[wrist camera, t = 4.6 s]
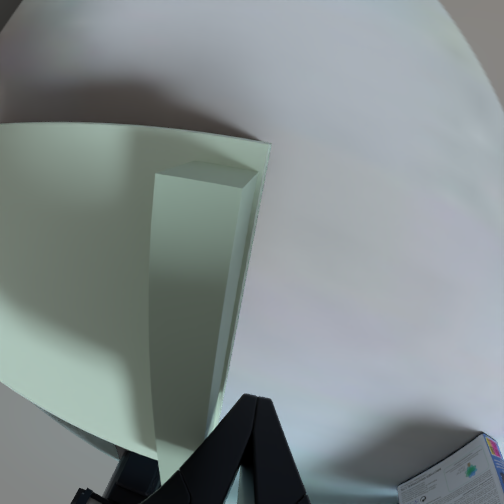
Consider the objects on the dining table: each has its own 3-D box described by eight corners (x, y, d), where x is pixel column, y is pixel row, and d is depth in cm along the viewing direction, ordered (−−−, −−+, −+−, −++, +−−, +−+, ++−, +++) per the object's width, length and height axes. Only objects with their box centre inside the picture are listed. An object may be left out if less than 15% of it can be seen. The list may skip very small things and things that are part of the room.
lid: (211, 461, 12) (197, 509, 10) (-27, 349, 13) (-51, 372, 11) (271, 143, 7) (256, 149, 4) (-66, 131, 8) (-107, 141, 5)
